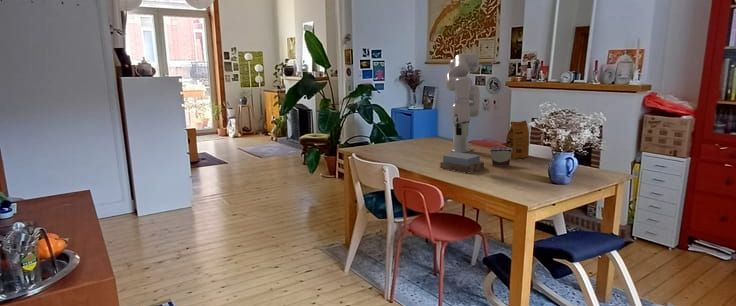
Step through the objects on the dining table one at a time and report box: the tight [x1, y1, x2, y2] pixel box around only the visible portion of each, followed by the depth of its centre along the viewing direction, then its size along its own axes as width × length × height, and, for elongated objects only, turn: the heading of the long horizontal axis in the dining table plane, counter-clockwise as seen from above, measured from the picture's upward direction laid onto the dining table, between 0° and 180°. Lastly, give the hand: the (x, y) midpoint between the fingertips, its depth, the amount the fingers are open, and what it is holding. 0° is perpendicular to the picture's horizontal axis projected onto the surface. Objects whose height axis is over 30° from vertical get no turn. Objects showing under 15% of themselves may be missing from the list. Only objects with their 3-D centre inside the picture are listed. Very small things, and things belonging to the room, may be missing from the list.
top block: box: [442, 152, 481, 167], centre depth 263 cm, size 12×16×4 cm
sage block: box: [455, 122, 469, 137], centre depth 260 cm, size 5×5×7 cm
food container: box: [489, 146, 513, 167], centre depth 268 cm, size 12×6×10 cm, turn 84°
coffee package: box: [505, 120, 530, 160], centre depth 285 cm, size 10×12×22 cm
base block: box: [439, 160, 485, 174], centre depth 264 cm, size 16×18×4 cm
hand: (461, 133), depth 260 cm, fingers closed on sage block, 5 cm apart
